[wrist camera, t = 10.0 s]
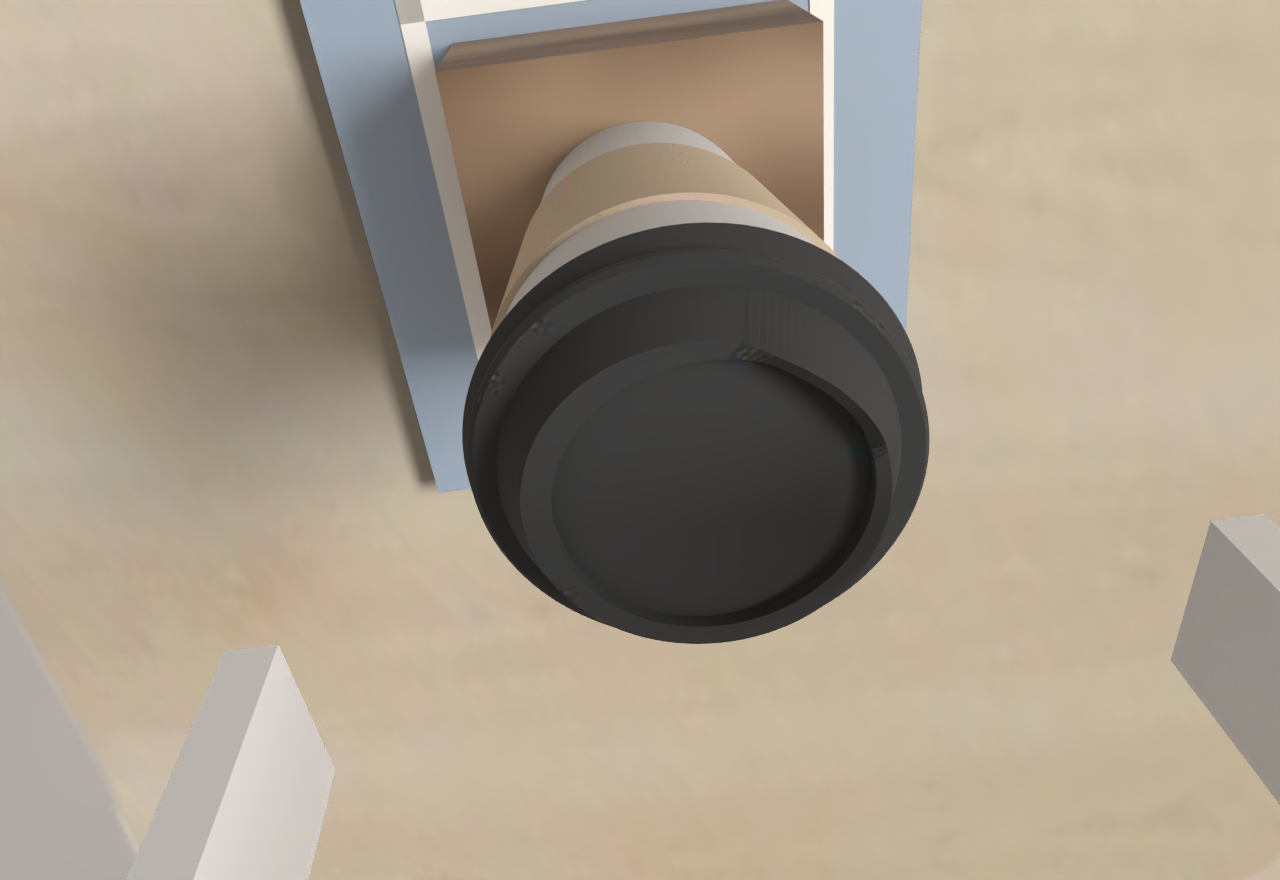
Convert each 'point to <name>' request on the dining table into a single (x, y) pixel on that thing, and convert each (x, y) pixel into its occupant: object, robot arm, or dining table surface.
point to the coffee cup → (689, 400)
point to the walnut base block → (632, 109)
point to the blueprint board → (431, 195)
